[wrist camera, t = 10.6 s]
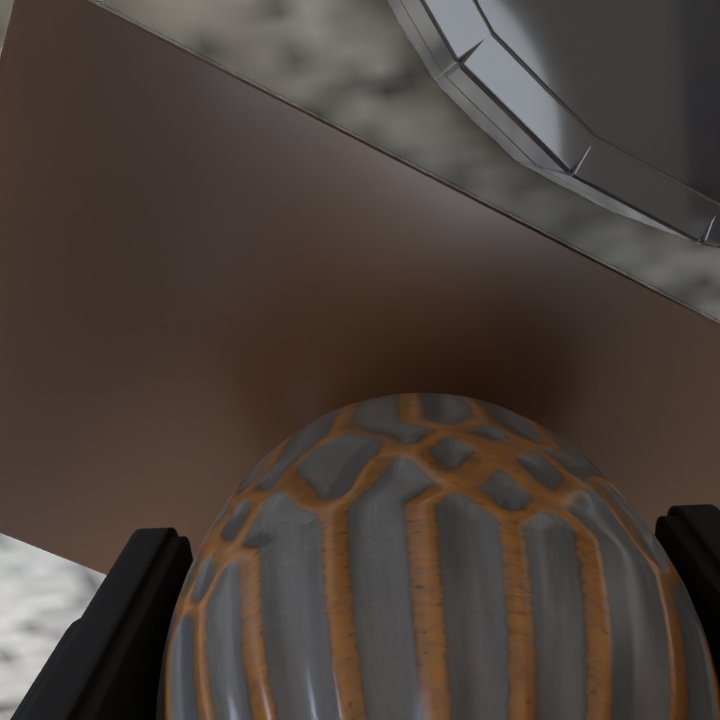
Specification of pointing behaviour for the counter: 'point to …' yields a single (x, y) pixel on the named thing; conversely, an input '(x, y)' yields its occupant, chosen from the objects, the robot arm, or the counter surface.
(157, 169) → the board
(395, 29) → the counter surface
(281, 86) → the counter surface
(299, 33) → the counter surface
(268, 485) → the vase
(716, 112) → the pan
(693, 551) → the robot arm
